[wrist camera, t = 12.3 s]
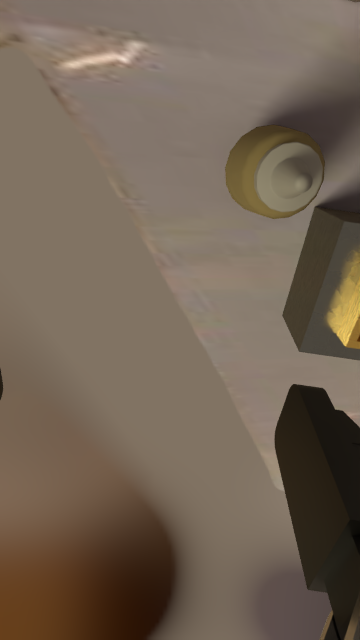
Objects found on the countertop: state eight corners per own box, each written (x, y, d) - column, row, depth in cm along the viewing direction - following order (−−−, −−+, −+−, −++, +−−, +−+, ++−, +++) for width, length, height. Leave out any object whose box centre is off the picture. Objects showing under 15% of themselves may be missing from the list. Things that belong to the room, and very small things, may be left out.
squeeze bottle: (215, 143, 35) (221, 134, 19) (291, 115, 34) (368, 80, 18) (233, 217, 39) (251, 262, 23) (303, 195, 37) (377, 227, 21)
